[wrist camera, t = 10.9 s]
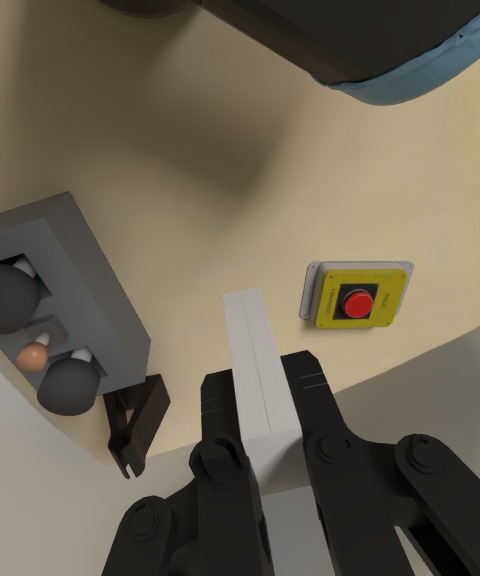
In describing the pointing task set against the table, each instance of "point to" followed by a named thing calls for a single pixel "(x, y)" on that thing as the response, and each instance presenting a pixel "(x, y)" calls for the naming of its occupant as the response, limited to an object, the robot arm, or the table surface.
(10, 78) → the table surface
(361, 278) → the emergency button
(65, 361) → the knob
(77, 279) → the mount
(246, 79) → the table surface
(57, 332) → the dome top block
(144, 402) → the phone stand
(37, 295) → the knob
